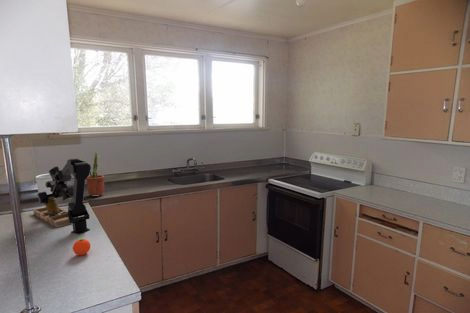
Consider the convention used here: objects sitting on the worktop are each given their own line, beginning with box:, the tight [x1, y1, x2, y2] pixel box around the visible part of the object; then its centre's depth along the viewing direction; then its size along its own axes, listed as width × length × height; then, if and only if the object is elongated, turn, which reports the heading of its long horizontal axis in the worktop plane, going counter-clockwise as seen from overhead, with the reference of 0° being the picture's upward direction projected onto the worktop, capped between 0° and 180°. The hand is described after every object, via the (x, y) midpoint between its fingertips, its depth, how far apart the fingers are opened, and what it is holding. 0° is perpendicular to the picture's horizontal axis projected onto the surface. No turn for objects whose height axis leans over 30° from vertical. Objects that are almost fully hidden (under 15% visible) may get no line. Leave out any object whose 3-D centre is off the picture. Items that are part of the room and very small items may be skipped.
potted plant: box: [80, 150, 105, 196], centre depth 222 cm, size 17×16×35 cm
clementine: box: [72, 237, 91, 256], centre depth 129 cm, size 8×7×7 cm
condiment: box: [45, 198, 65, 217], centre depth 177 cm, size 7×8×12 cm
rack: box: [32, 206, 78, 229], centre depth 178 cm, size 37×12×3 cm, turn 50°
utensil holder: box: [35, 173, 52, 195], centre depth 223 cm, size 15×15×18 cm
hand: (54, 202), depth 176 cm, fingers open, 9 cm apart
